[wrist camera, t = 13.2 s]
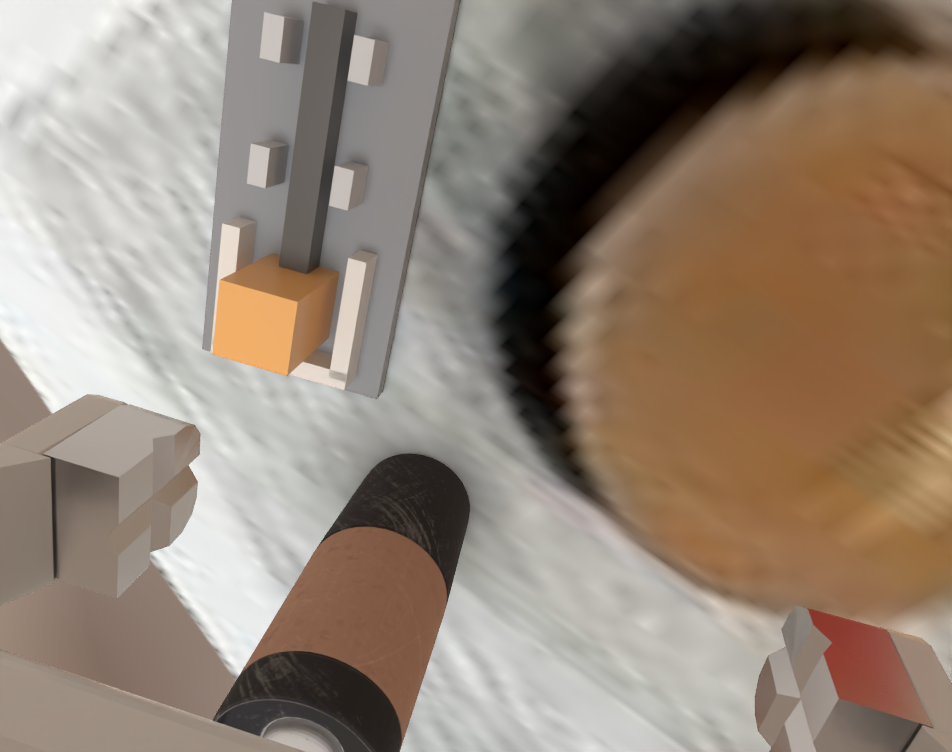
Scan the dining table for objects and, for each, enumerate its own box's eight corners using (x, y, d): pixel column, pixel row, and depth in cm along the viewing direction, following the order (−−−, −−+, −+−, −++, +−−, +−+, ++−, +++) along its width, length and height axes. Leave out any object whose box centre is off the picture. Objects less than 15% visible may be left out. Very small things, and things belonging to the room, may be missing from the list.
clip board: (490, -154, 33) (477, -180, 30) (382, 391, 44) (364, 416, 41) (262, -207, 34) (225, -239, 31) (212, 342, 45) (180, 363, 42)
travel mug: (334, 492, 48) (163, 748, 29) (416, 426, 45) (284, 663, 26) (415, 572, 49) (299, 865, 31) (499, 513, 46) (428, 796, 28)
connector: (328, 338, 42) (287, 376, 37) (263, 319, 42) (212, 354, 37) (380, 18, 36) (339, 7, 30) (303, -1, 36) (247, -17, 30)
